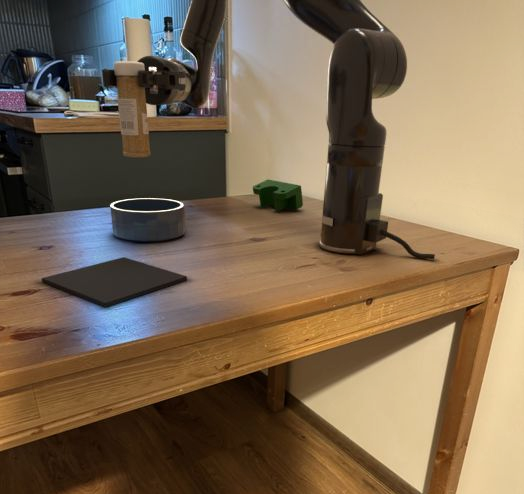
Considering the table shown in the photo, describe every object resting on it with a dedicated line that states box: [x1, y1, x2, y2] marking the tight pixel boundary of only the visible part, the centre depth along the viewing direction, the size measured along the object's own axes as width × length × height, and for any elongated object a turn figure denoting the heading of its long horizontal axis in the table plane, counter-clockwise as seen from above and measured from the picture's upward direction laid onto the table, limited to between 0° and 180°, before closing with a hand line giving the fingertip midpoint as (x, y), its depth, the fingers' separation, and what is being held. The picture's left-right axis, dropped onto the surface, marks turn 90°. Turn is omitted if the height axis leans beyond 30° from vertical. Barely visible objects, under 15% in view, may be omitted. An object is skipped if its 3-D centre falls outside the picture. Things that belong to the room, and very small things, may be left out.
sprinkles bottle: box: [113, 60, 152, 158], centre depth 79 cm, size 5×5×14 cm
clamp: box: [252, 179, 304, 213], centre depth 119 cm, size 12×6×9 cm, turn 37°
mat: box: [41, 256, 188, 308], centre depth 70 cm, size 14×14×1 cm
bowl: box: [109, 197, 186, 243], centre depth 93 cm, size 13×13×6 cm
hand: (123, 78), depth 74 cm, fingers closed on sprinkles bottle, 4 cm apart
